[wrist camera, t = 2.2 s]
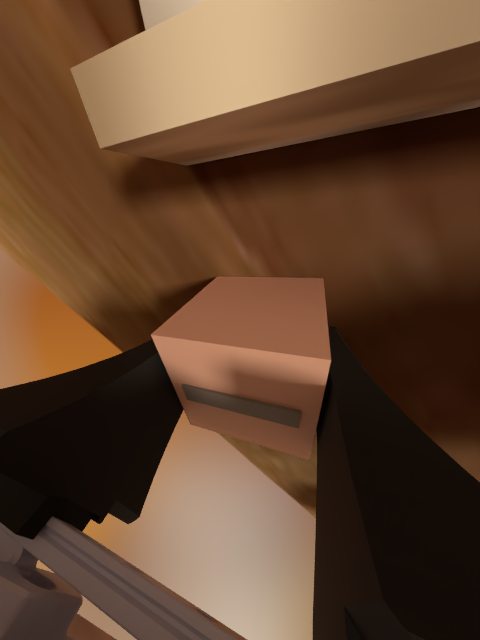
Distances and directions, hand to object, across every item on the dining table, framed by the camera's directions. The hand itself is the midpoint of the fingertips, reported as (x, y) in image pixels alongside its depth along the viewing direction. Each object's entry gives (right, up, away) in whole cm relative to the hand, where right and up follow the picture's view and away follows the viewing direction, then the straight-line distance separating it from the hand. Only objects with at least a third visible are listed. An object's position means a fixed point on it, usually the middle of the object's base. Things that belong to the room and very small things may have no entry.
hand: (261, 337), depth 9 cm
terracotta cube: (0, +1, +1) cm, 1 cm away
